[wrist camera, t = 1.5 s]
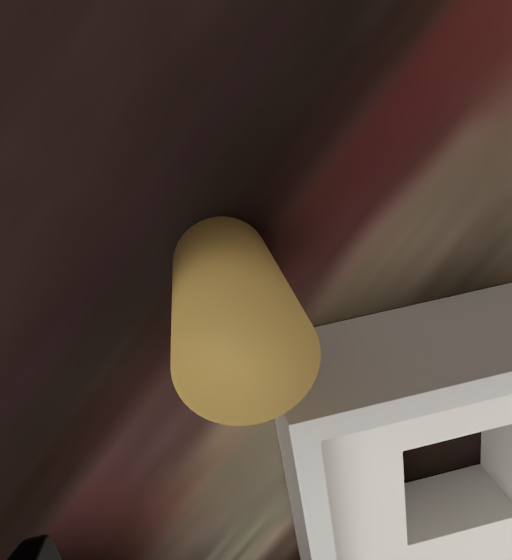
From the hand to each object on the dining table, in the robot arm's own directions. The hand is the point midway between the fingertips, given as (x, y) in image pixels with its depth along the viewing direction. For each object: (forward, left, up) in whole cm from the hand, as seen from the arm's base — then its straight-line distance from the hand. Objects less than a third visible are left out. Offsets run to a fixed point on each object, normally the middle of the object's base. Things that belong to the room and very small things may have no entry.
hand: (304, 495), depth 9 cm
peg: (0, 0, -12) cm, 12 cm away
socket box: (+9, -12, -12) cm, 19 cm away
